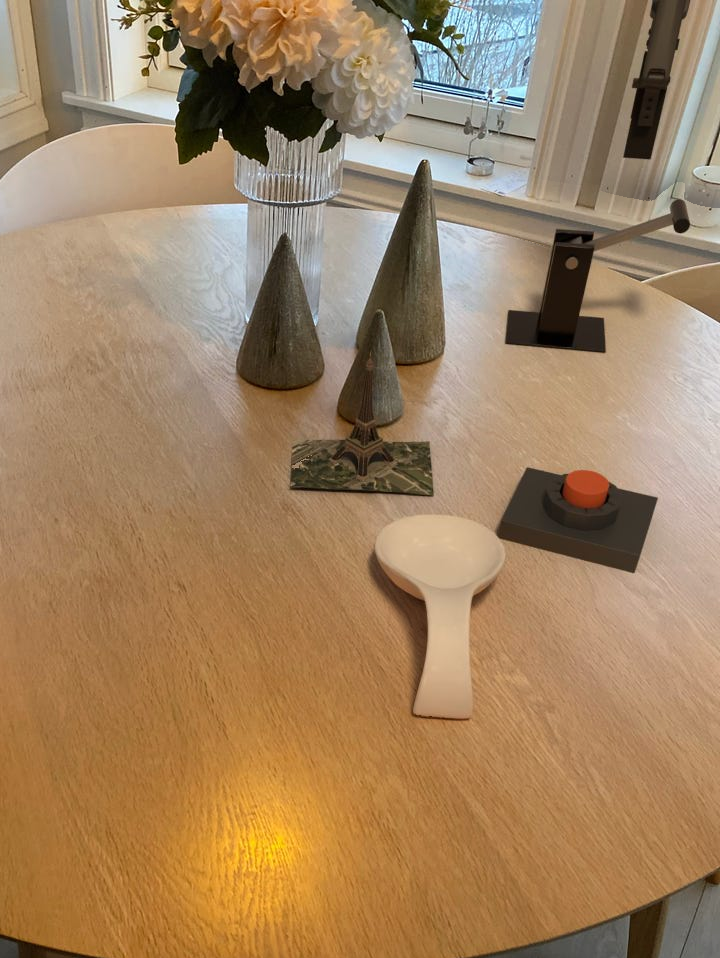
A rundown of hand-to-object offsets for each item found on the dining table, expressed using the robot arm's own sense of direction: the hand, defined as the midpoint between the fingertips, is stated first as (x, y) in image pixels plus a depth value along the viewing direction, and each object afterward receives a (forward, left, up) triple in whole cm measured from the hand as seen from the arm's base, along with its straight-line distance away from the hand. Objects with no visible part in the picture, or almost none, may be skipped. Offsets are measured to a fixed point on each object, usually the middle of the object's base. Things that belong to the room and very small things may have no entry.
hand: (640, 137), depth 106 cm
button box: (-6, +37, -25) cm, 45 cm away
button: (-6, +37, -21) cm, 43 cm away
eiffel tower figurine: (+17, +36, -25) cm, 47 cm away
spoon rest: (+2, +56, -25) cm, 61 cm away
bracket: (+5, -1, -25) cm, 25 cm away
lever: (-1, -2, -12) cm, 13 cm away
